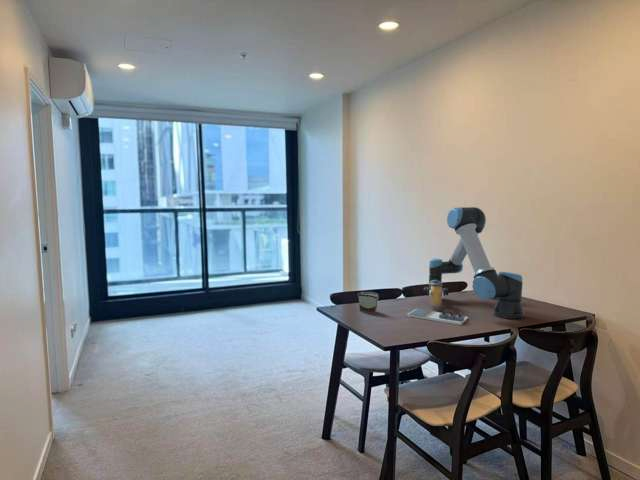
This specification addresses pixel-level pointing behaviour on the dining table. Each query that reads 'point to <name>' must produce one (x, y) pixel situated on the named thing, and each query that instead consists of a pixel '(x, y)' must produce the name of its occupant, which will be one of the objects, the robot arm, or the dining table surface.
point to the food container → (368, 301)
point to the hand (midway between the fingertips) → (436, 295)
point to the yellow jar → (436, 293)
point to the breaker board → (438, 316)
